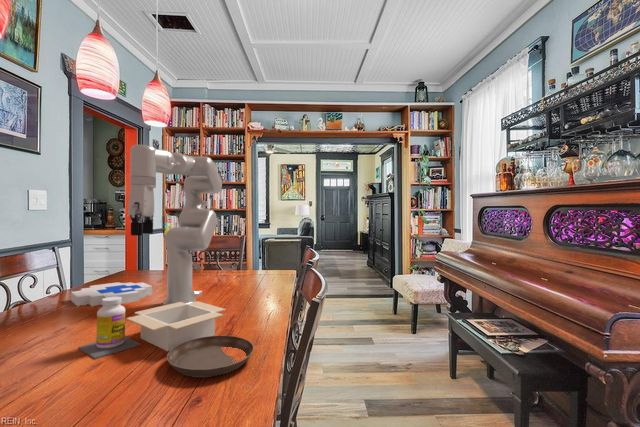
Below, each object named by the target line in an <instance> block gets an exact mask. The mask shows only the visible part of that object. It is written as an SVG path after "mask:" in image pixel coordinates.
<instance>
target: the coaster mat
mask: <svg viewBox="0 0 640 427" xmlns="http://www.w3.org/2000/svg"><path fill="white" fill-rule="evenodd" d="M139 346H141V343H139V342H138V341H135V340H133V339H131V338H130V337H127V336H126V335H125V340H124V342H123V343H122V344H121V345H119V346H117V347H113V348H107V349H102V348H98V347H97V346H96V341H94V342H91V343H87V344H84V345H80V346H78V349H79V350H80V351H81V352H84V353H85V354H87V355H88V356H90V357H91V358H92V359H94V360H96V359H100V358H105V357H106V356H110V355H113V354H116V353H120V352H123V351H126V350H129V349H132V348H136V347H139Z"/></svg>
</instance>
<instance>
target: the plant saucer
mask: <svg viewBox="0 0 640 427" xmlns="http://www.w3.org/2000/svg"><path fill="white" fill-rule="evenodd" d="M222 347H232V348H238V349H241V350H243V351H244V352H245V353H246V356H247V357H246V358H244V359H243V360H241V361H238V362H236V363H235V361H236V360H235V359H234V358H235V357H234V358H233V357H232V356H228V355H226V354H225V353H224V352H223V351H222V349H221V348H222ZM220 349H221V350H220ZM254 351H255V346H254V344H253V343H252V342H251V341H250V340H248V339H246V338H243V337H239V336H234V335H213V336H208V337H202V338H197V339H193V340H189V341H186V342H184V343H181V344H179V345H177V346H176V347H174V348H173V349H171V350H170V351H168V353H167V354H166V360H167V362H168V363H169V365H170V366H171V367H172V368H173V369H174V370H175V371H176V372H178V373H180V374H182V375H184V376H187V377H190V376H191V378H212V376H214V377H218V376H217V375H219V376H222V375H221V374H223V375H226V374H228V372H229V373H232V372H234V371H236V370H237V369H239V368H241V366H243V365H244V364H245V363H246V362H247V361H248V360H249V358H250V357H252V354H253V352H254ZM231 357H232V358H231ZM233 359H234V360H235V361H234V360H233ZM232 360H233V361H234V363H233V361H232ZM235 369H236V370H235ZM233 370H234V371H233ZM231 371H232V372H231ZM225 373H226V374H225Z"/></svg>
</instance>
